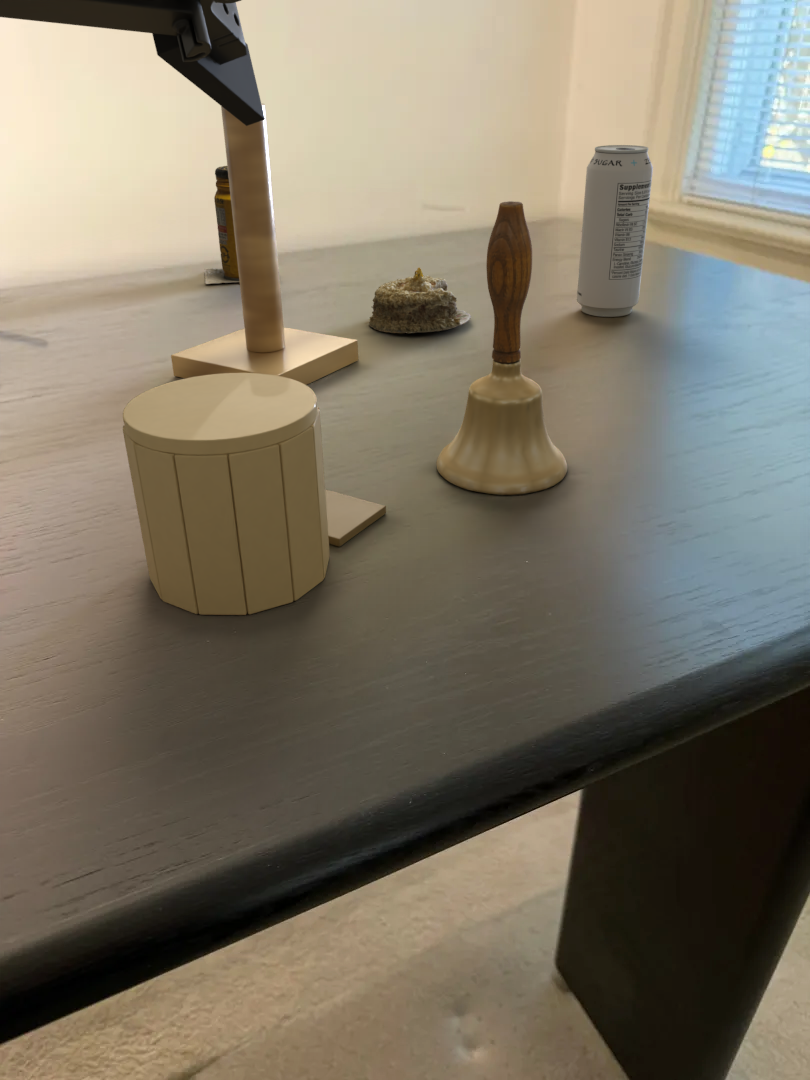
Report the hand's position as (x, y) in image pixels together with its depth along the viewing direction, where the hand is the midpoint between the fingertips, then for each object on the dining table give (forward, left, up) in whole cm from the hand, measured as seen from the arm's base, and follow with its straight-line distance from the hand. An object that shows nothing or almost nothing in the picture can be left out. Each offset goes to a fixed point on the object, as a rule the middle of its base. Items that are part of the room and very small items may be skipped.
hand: (88, 144), depth 34 cm
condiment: (-43, +55, -21) cm, 73 cm away
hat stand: (-18, +30, -21) cm, 41 cm away
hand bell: (+8, +22, -21) cm, 31 cm away
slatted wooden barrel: (+2, +6, -21) cm, 21 cm away
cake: (-14, +48, -21) cm, 54 cm away
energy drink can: (0, +61, -21) cm, 64 cm away
